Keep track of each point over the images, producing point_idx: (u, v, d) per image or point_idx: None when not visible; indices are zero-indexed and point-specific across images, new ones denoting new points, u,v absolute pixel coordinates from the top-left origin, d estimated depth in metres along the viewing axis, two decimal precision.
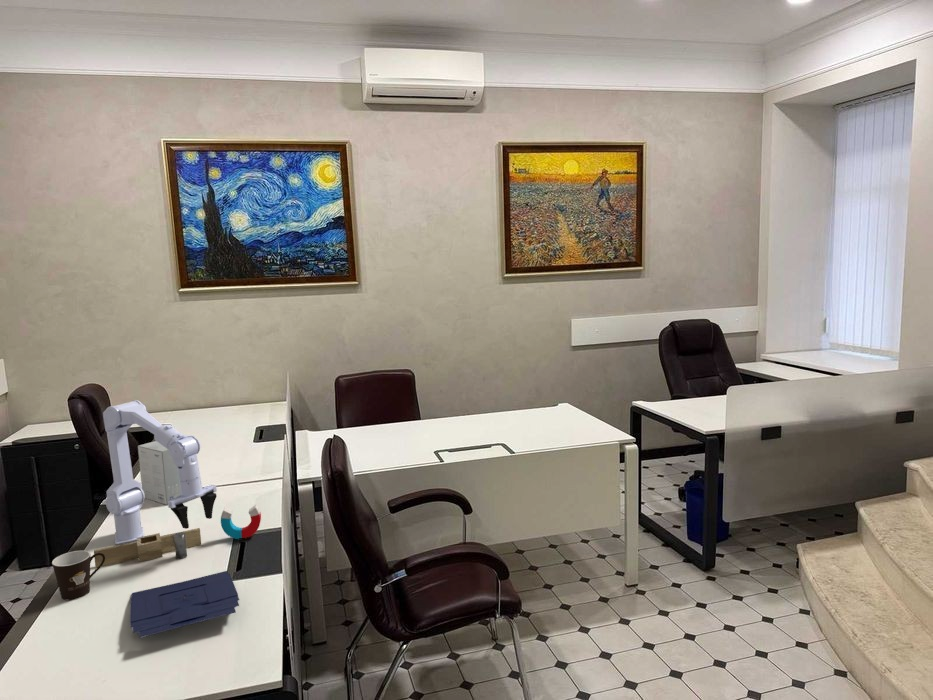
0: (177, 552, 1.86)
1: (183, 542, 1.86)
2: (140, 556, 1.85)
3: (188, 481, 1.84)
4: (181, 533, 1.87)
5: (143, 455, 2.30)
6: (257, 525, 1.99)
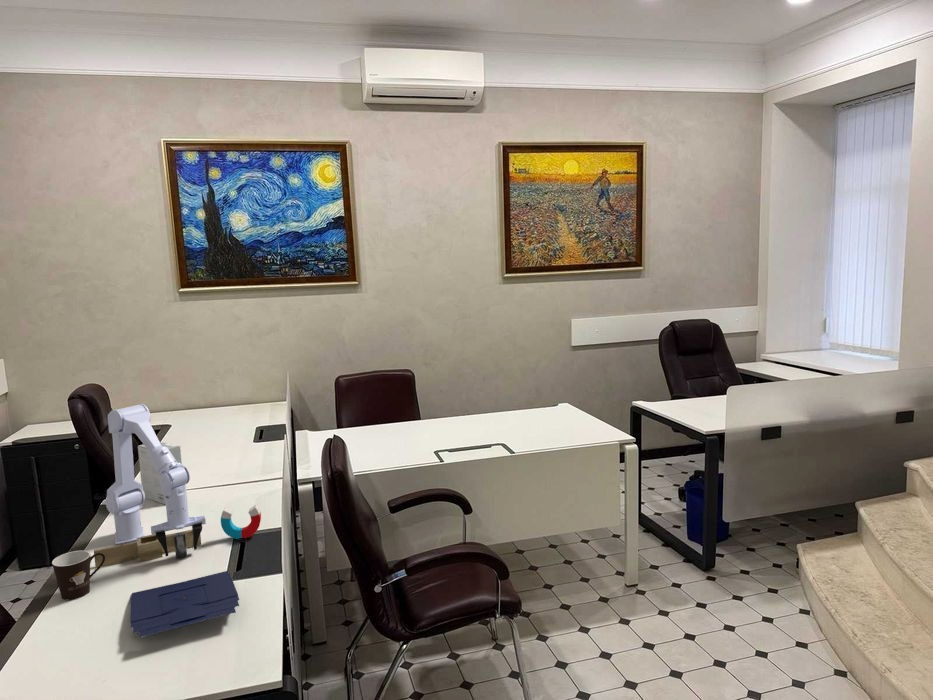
0: (177, 552, 1.86)
1: (183, 542, 1.86)
2: (140, 556, 1.85)
3: (170, 512, 1.83)
4: (181, 533, 1.87)
5: (143, 455, 2.30)
6: (257, 525, 1.99)
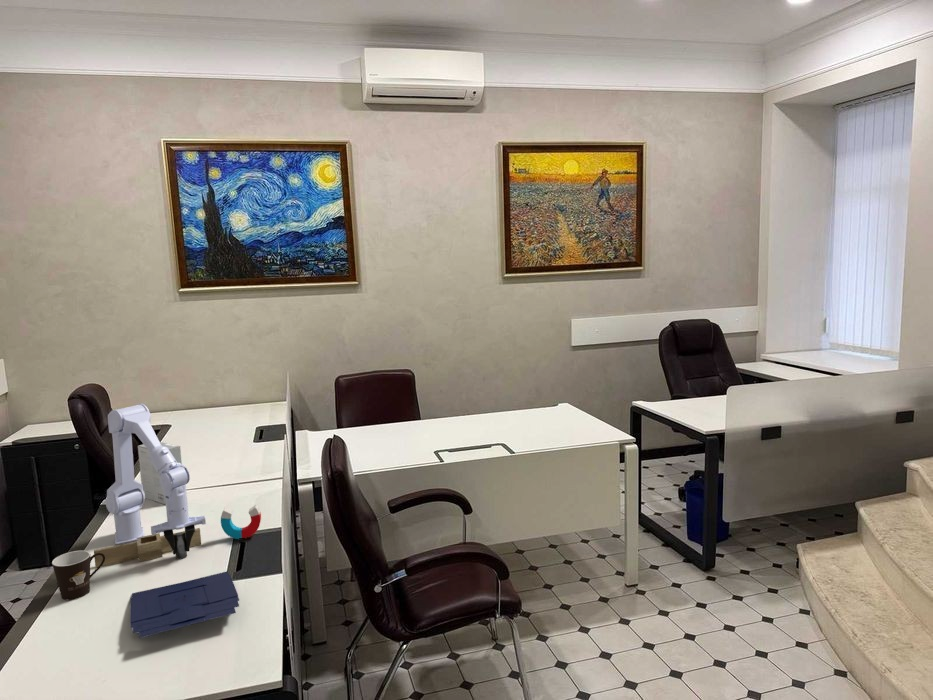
0: (177, 552, 1.86)
1: (183, 542, 1.86)
2: (140, 556, 1.85)
3: (170, 512, 1.83)
4: (181, 533, 1.87)
5: (143, 455, 2.30)
6: (257, 525, 1.99)
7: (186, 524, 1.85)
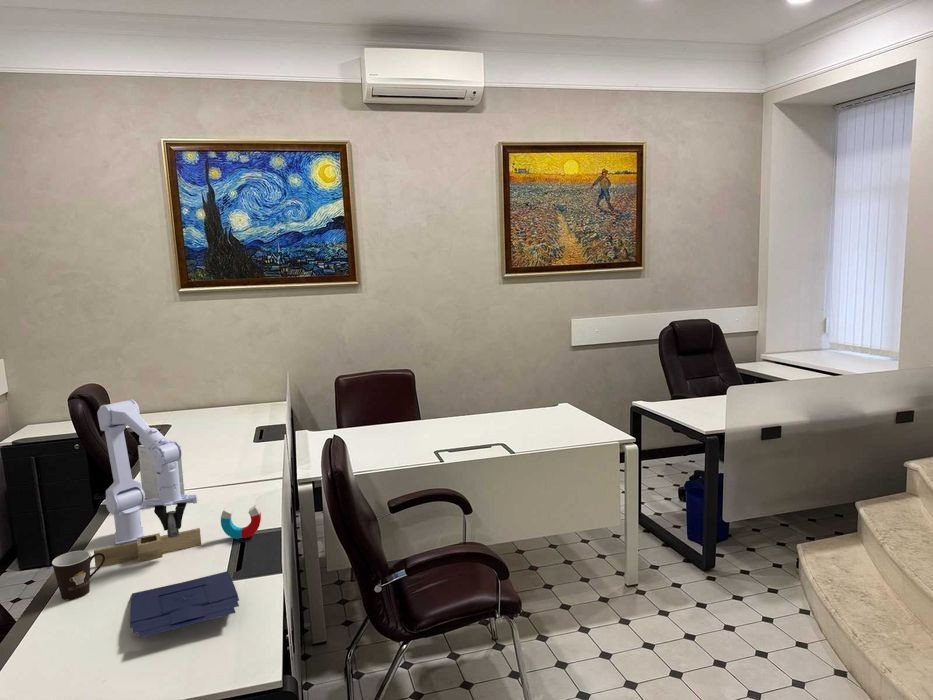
0: (168, 530, 1.85)
1: (174, 521, 1.85)
2: (140, 556, 1.85)
3: (160, 487, 1.82)
4: (173, 512, 1.86)
5: (143, 455, 2.30)
6: (257, 525, 1.99)
7: (175, 501, 1.83)
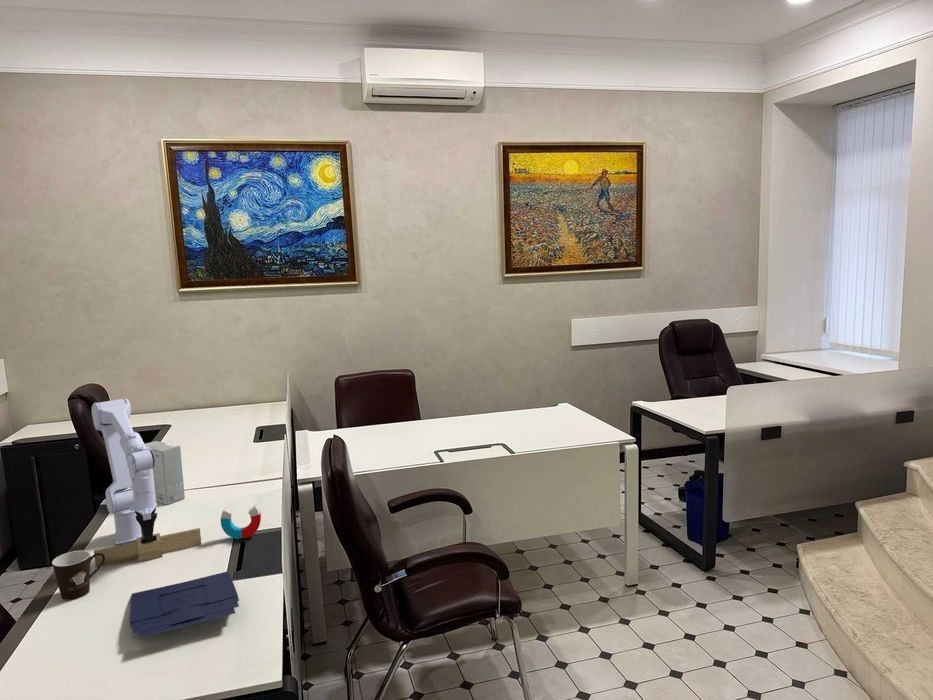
0: None
1: None
2: (140, 556, 1.85)
3: None
4: None
5: None
6: (257, 525, 1.99)
7: (136, 509, 1.84)
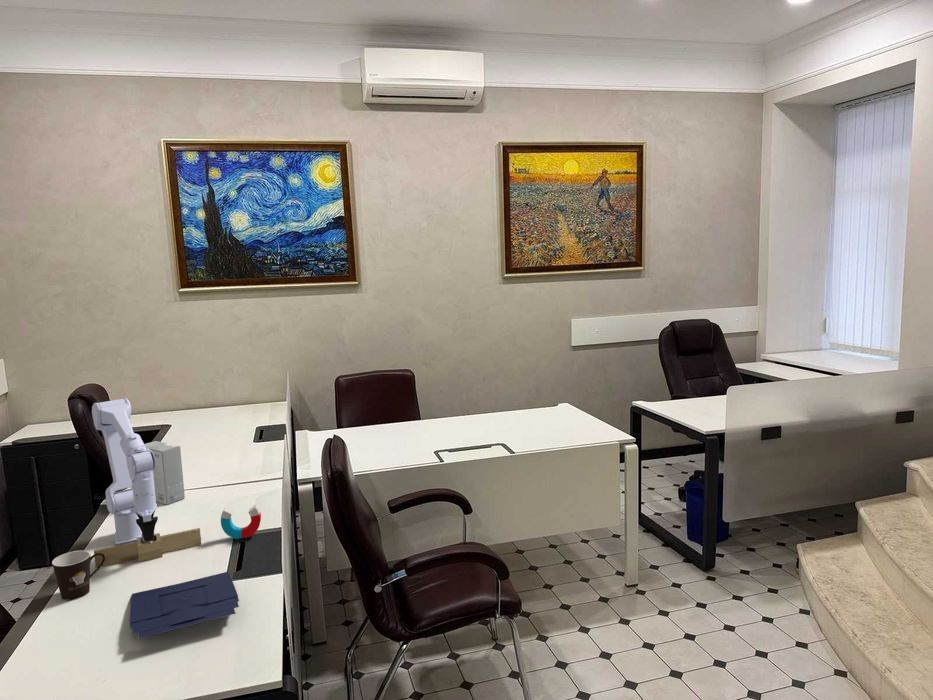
0: None
1: (143, 542, 1.87)
2: (140, 556, 1.85)
3: None
4: None
5: None
6: (257, 525, 1.99)
7: (136, 511, 1.84)
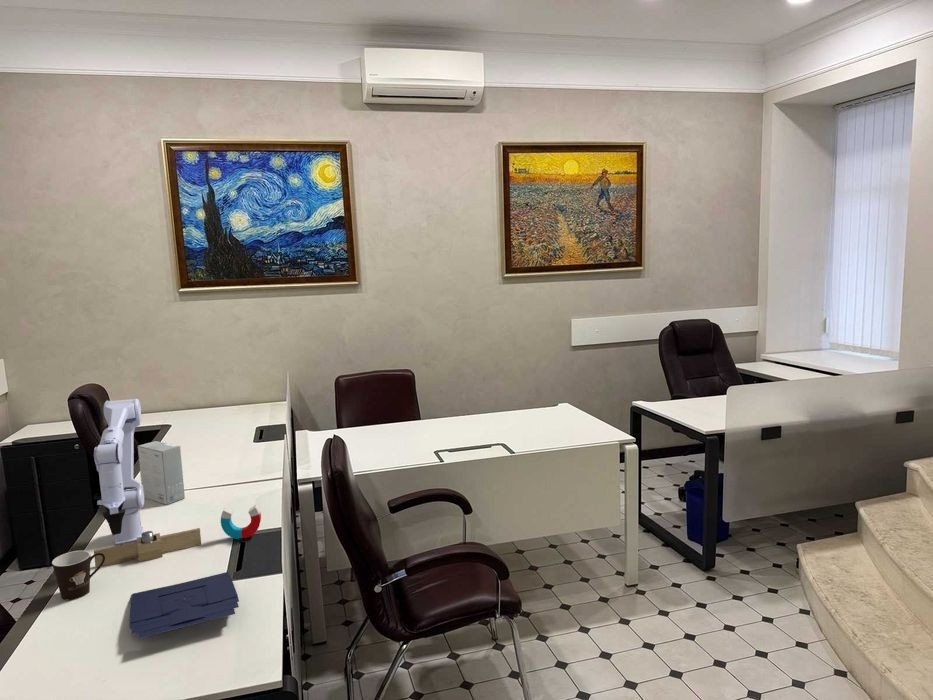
0: None
1: (143, 542, 1.87)
2: (140, 556, 1.85)
3: None
4: (148, 533, 1.88)
5: (143, 455, 2.30)
6: (257, 525, 1.99)
7: (103, 503, 1.81)
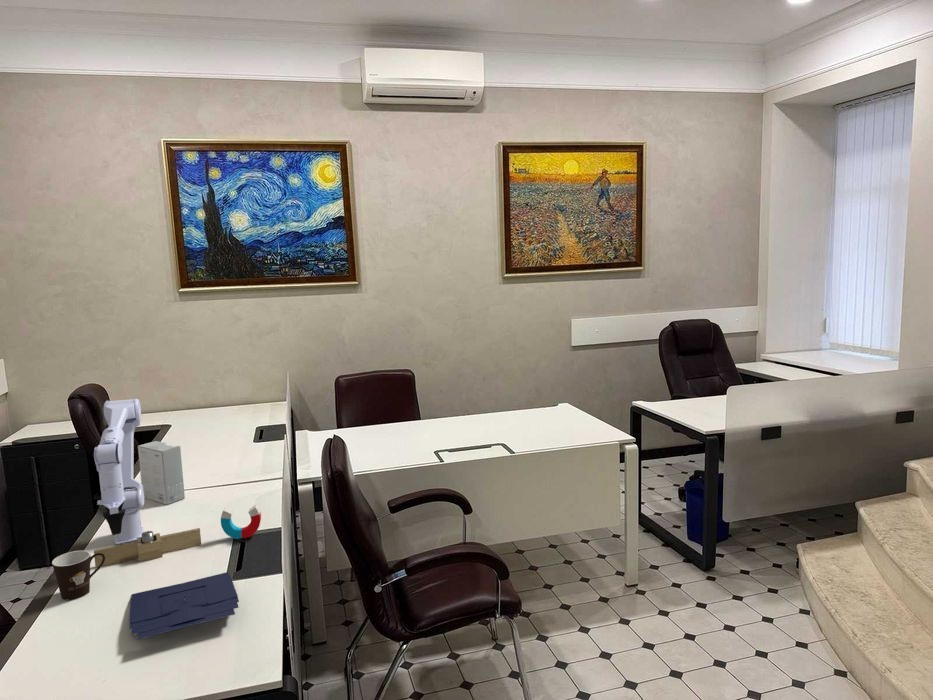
0: None
1: (143, 542, 1.87)
2: (140, 556, 1.85)
3: None
4: (149, 533, 1.88)
5: (143, 455, 2.30)
6: (257, 525, 1.99)
7: (103, 503, 1.81)
